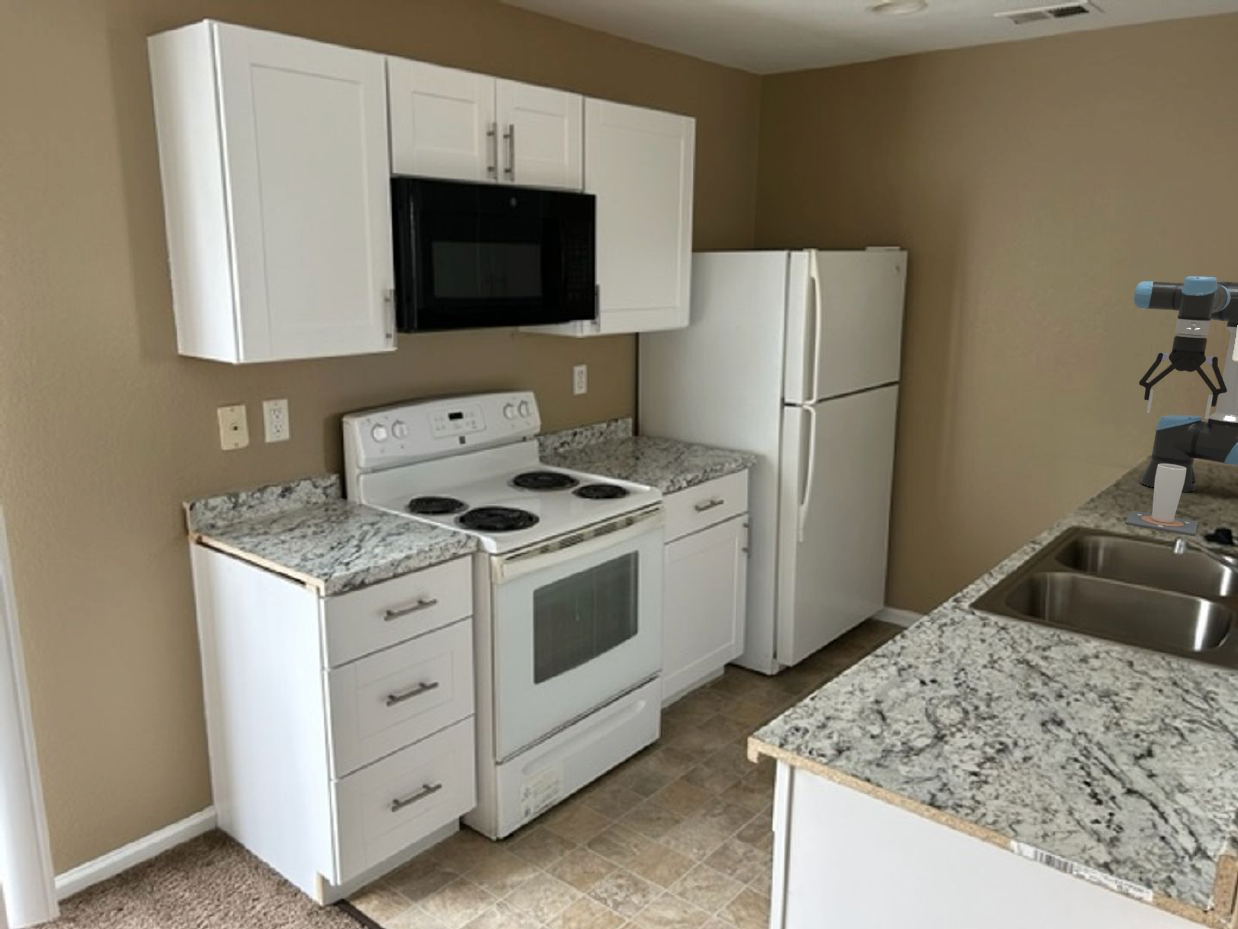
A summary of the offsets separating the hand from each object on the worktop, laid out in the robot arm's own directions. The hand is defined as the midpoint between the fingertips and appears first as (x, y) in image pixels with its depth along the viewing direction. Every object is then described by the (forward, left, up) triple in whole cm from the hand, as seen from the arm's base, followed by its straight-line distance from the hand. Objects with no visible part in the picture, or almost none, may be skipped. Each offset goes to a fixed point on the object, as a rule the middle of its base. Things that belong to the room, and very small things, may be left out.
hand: (1176, 415), depth 249 cm
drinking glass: (+3, +7, -28) cm, 29 cm away
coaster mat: (+3, +7, -29) cm, 29 cm away
